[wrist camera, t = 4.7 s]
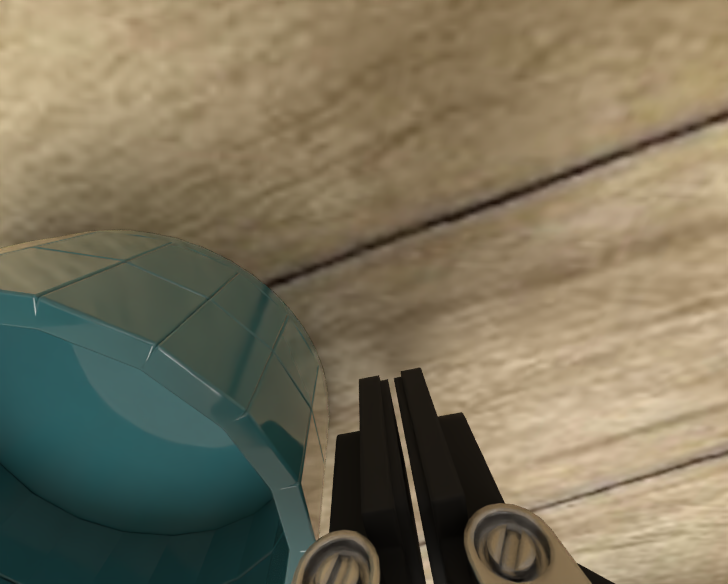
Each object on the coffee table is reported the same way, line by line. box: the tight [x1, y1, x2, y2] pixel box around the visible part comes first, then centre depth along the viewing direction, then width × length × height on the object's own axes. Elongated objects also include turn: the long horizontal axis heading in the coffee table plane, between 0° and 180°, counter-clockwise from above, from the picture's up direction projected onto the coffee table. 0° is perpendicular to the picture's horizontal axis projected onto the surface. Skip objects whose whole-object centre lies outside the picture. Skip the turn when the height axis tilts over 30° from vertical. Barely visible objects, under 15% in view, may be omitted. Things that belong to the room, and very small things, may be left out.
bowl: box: [0, 230, 329, 584], centre depth 9 cm, size 12×12×5 cm
